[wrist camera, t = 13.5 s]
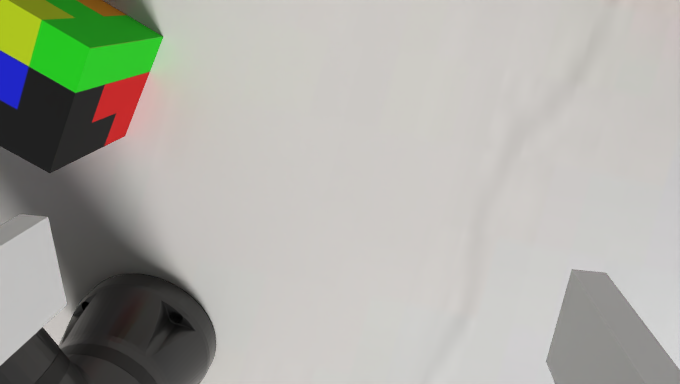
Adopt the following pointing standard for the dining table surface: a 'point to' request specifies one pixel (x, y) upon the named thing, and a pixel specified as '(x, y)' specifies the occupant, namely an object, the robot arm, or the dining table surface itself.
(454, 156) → the dining table surface
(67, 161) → the puzzle toy
